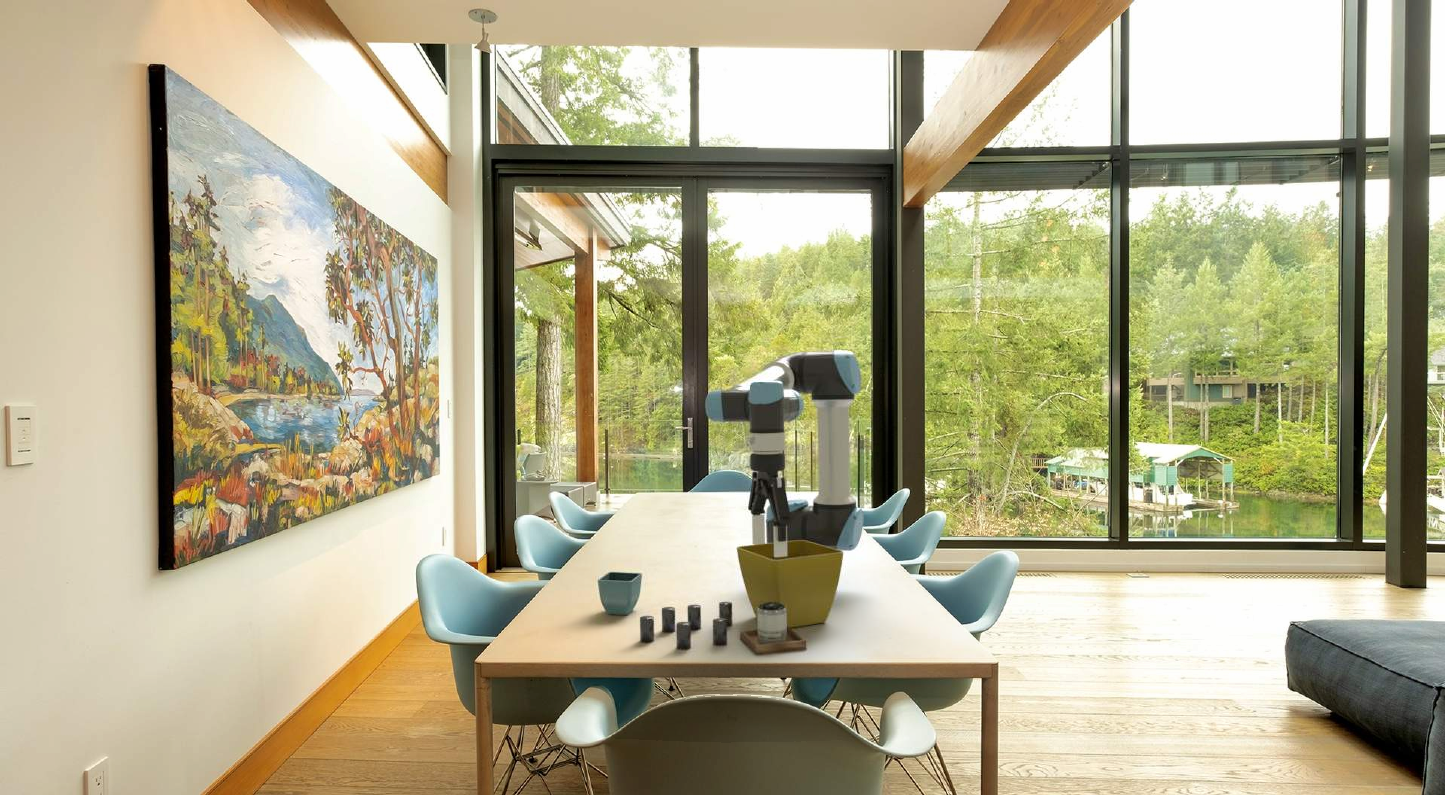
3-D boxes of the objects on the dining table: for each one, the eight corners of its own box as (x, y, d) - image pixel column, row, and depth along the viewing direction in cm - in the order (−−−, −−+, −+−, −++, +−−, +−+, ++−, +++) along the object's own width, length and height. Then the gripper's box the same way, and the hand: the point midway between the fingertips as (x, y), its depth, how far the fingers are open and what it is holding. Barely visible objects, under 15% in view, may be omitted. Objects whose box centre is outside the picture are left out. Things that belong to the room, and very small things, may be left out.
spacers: (730, 622, 184) (729, 601, 184) (751, 642, 169) (750, 619, 169) (634, 632, 178) (634, 609, 178) (647, 653, 163) (647, 629, 163)
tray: (787, 634, 175) (787, 626, 175) (806, 649, 164) (806, 640, 164) (740, 639, 172) (740, 630, 172) (756, 655, 161) (756, 646, 161)
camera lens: (791, 639, 169) (791, 602, 169) (779, 647, 164) (778, 609, 164) (765, 635, 172) (765, 599, 172) (752, 643, 167) (751, 606, 167)
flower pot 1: (632, 618, 189) (631, 581, 189) (597, 616, 191) (596, 579, 190) (643, 608, 197) (642, 572, 197) (609, 607, 199) (609, 571, 199)
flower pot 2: (735, 615, 190) (734, 545, 190) (803, 605, 199) (802, 538, 199) (774, 636, 173) (773, 560, 173) (846, 624, 181) (845, 551, 181)
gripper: (733, 448, 181) (735, 540, 182) (771, 458, 157) (773, 563, 158) (763, 447, 183) (765, 537, 184) (806, 456, 159) (808, 560, 160)
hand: (769, 550), depth 171 cm, fingers open, 13 cm apart
